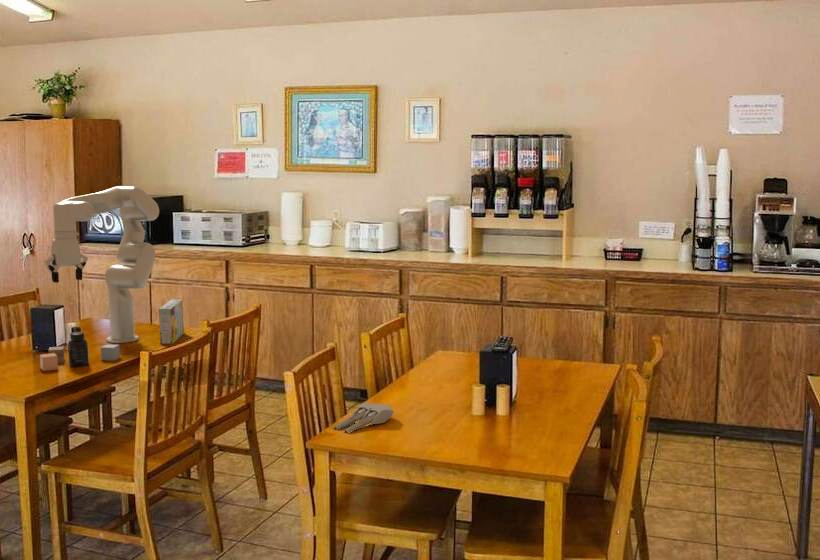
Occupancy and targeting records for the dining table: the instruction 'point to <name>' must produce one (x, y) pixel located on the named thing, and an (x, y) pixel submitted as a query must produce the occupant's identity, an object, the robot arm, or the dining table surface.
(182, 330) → the snack box
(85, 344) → the supplement bottle
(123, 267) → the robot arm
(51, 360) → the terracotta block
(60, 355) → the walnut block
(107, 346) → the slate block
